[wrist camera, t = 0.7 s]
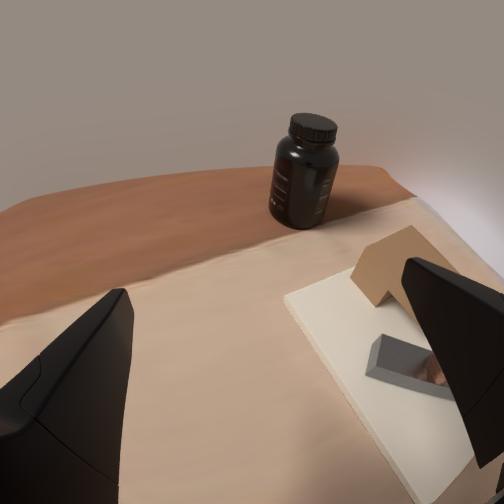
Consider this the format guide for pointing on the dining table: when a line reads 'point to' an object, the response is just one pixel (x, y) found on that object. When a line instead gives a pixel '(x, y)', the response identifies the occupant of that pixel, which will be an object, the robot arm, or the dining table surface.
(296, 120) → the supplement bottle
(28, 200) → the dining table surface
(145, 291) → the dining table surface
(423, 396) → the base
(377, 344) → the link
